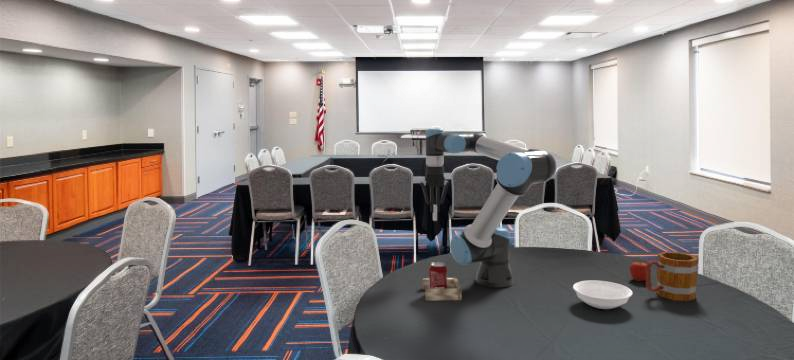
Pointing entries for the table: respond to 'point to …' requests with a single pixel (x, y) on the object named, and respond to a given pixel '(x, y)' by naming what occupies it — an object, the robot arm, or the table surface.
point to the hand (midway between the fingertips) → (434, 220)
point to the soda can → (437, 276)
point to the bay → (443, 291)
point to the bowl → (602, 293)
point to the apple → (638, 271)
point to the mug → (674, 276)
